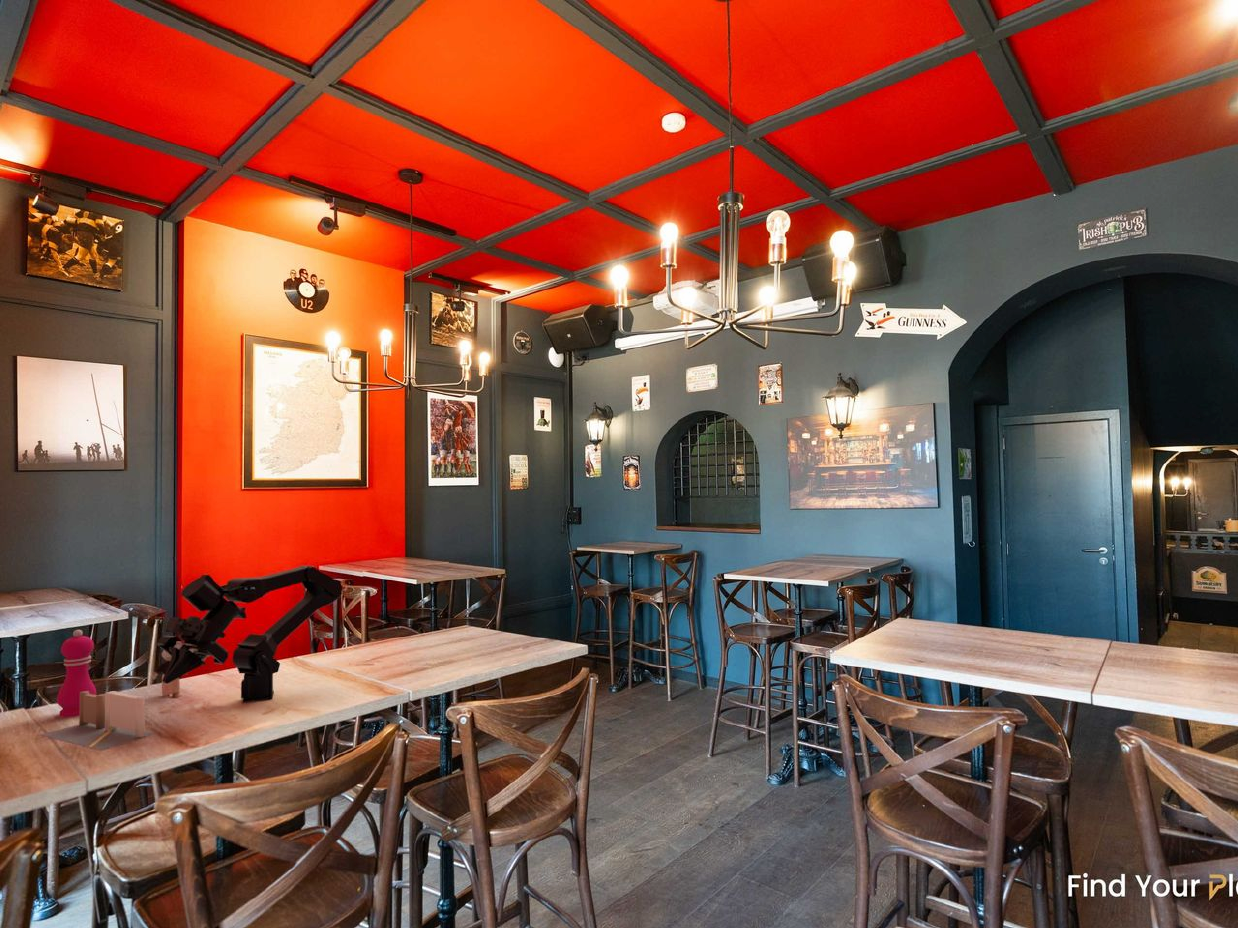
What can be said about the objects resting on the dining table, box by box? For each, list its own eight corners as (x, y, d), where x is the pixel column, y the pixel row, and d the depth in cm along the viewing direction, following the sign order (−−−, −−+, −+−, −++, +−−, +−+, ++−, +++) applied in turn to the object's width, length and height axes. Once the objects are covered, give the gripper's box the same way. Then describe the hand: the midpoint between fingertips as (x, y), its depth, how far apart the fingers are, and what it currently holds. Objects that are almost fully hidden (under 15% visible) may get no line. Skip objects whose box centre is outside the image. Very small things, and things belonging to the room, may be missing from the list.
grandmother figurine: (181, 692, 175) (181, 643, 175) (189, 694, 173) (189, 644, 173) (148, 700, 168) (148, 649, 169) (156, 702, 166) (156, 650, 167)
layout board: (39, 738, 142) (39, 701, 142) (94, 723, 151) (94, 688, 151) (100, 754, 132) (100, 714, 132) (155, 737, 141) (155, 699, 141)
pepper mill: (91, 709, 162) (92, 625, 163) (100, 714, 157) (101, 628, 158) (53, 717, 156) (54, 630, 157) (60, 723, 152) (62, 634, 153)
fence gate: (102, 730, 143) (103, 693, 144) (113, 727, 145) (113, 690, 145) (137, 738, 138) (137, 699, 138) (147, 734, 139) (147, 696, 140)
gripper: (165, 600, 158) (112, 658, 147) (216, 604, 150) (163, 665, 139) (198, 628, 165) (150, 685, 154) (248, 633, 156) (200, 694, 146)
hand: (164, 682), depth 148 cm, fingers closed
